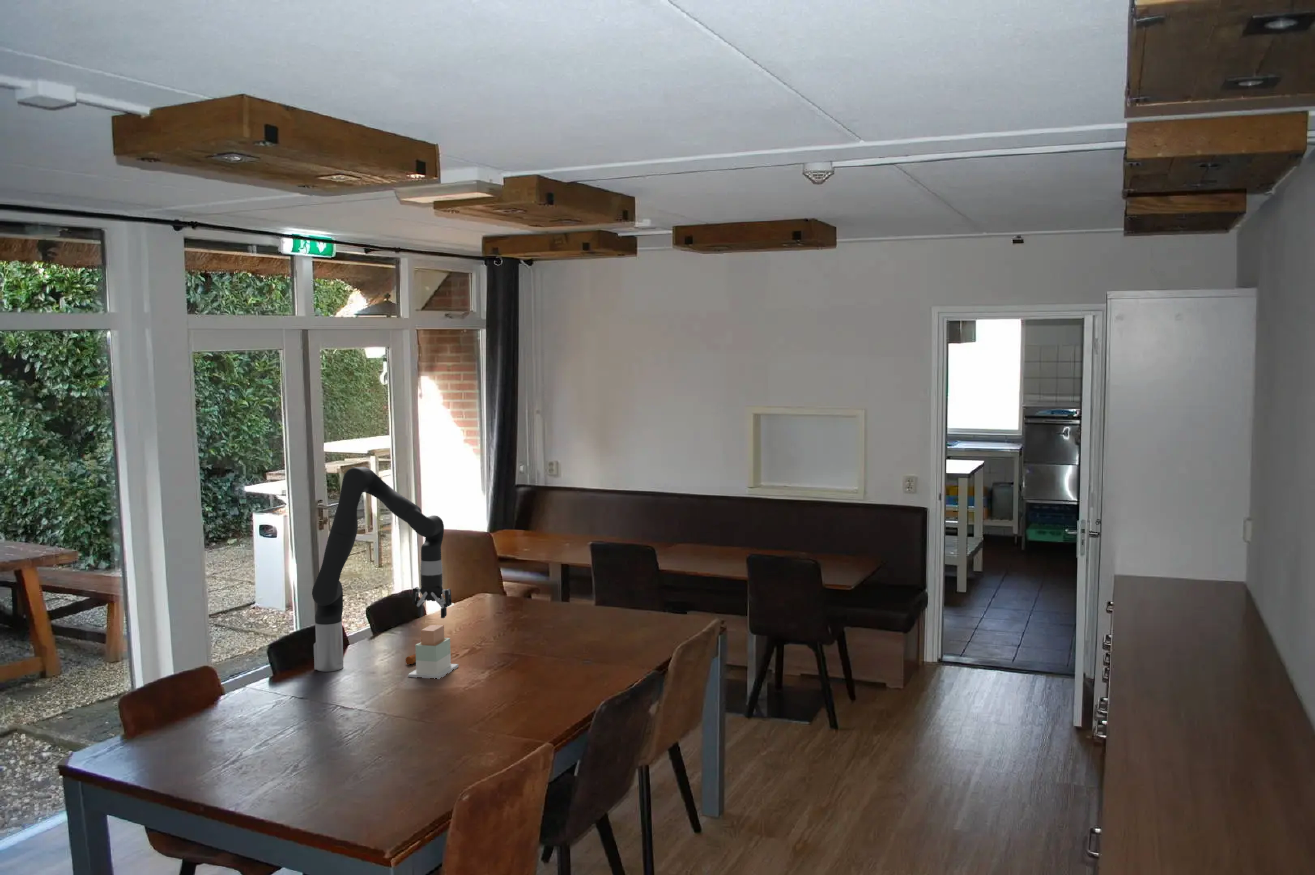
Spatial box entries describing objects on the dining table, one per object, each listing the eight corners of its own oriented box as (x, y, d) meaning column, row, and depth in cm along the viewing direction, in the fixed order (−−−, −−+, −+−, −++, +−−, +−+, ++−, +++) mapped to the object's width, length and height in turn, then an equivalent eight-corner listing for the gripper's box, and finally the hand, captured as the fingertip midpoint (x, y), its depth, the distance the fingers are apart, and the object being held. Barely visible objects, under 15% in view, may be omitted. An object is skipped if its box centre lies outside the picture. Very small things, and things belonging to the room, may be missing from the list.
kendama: (400, 653, 386) (434, 636, 404) (404, 669, 387) (437, 651, 404) (413, 652, 384) (446, 635, 401) (417, 668, 384) (449, 650, 402)
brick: (434, 647, 371) (433, 631, 370) (421, 647, 372) (420, 630, 372) (444, 641, 378) (443, 625, 378) (431, 641, 380) (431, 624, 379)
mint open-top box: (439, 679, 367) (438, 648, 366) (408, 676, 370) (407, 646, 369) (458, 667, 382) (457, 637, 381) (428, 664, 385) (427, 635, 384)
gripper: (454, 571, 375) (455, 616, 376) (418, 569, 379) (419, 613, 380) (444, 575, 368) (445, 621, 369) (408, 573, 371) (409, 618, 373)
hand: (432, 617), depth 374 cm, fingers open, 8 cm apart
